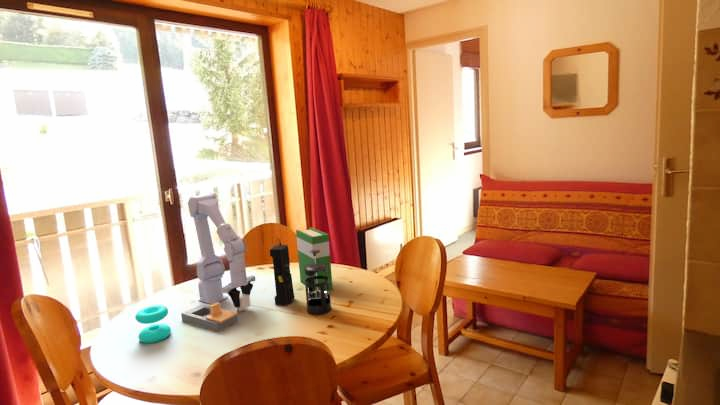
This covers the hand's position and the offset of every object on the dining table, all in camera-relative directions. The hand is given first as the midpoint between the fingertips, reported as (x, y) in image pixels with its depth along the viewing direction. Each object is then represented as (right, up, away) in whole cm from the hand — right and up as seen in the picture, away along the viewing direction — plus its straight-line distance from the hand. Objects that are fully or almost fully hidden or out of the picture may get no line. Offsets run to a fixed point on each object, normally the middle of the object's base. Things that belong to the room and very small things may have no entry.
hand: (241, 304), depth 164 cm
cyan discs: (-25, -7, -18) cm, 31 cm away
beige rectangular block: (0, -2, 0) cm, 2 cm away
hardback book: (+26, +3, +22) cm, 35 cm away
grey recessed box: (-10, -4, -7) cm, 13 cm away
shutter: (-4, -1, -12) cm, 12 cm away
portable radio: (+15, -1, +6) cm, 17 cm away
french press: (+30, -1, -3) cm, 30 cm away
